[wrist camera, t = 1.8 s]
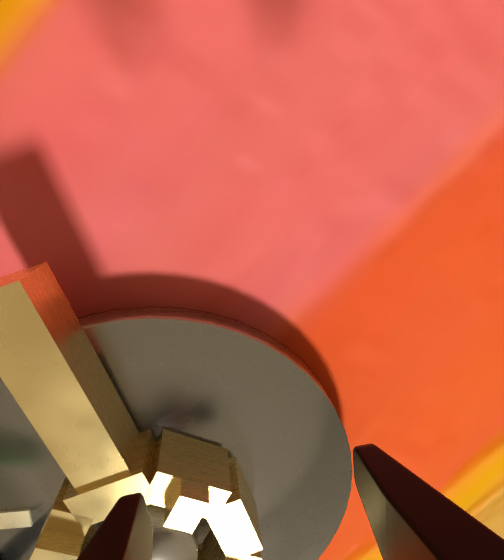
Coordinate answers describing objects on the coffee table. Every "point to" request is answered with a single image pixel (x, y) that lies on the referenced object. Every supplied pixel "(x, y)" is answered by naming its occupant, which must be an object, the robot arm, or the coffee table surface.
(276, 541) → the flange
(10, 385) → the brass ring wrench
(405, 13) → the coffee table surface
